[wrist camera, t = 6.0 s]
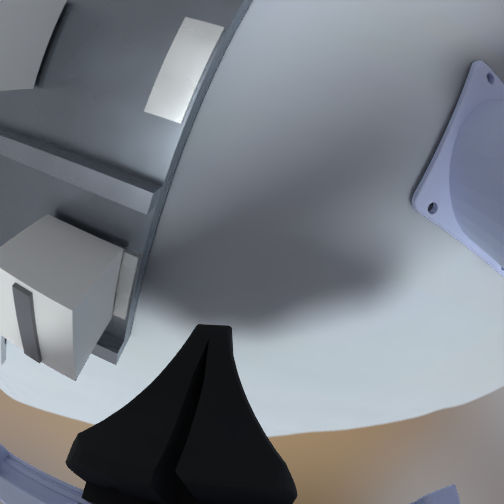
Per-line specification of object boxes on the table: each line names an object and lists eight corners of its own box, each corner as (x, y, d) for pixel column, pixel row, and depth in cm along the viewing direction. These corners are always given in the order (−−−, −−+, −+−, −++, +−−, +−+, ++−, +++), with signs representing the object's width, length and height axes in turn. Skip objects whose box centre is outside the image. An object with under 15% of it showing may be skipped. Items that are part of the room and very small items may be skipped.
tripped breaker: (123, 248, 11) (69, 314, 7) (111, 318, 12) (73, 384, 9) (47, 213, 10) (-18, 260, 6) (45, 284, 12) (-2, 337, 8)
